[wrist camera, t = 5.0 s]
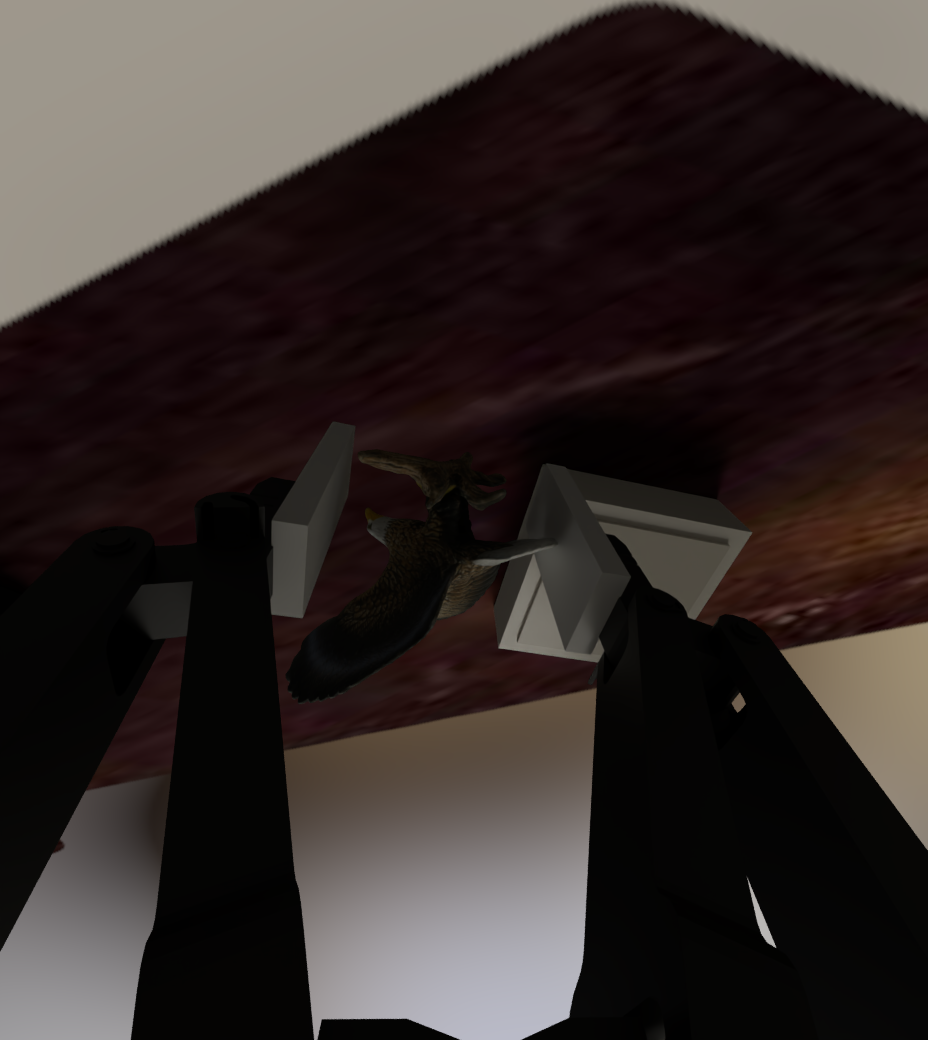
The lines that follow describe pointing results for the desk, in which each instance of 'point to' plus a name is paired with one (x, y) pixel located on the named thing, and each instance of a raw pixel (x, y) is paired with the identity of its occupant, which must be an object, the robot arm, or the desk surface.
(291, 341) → the desk surface
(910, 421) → the desk surface
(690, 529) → the tray
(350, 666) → the eagle figurine
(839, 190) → the desk surface
